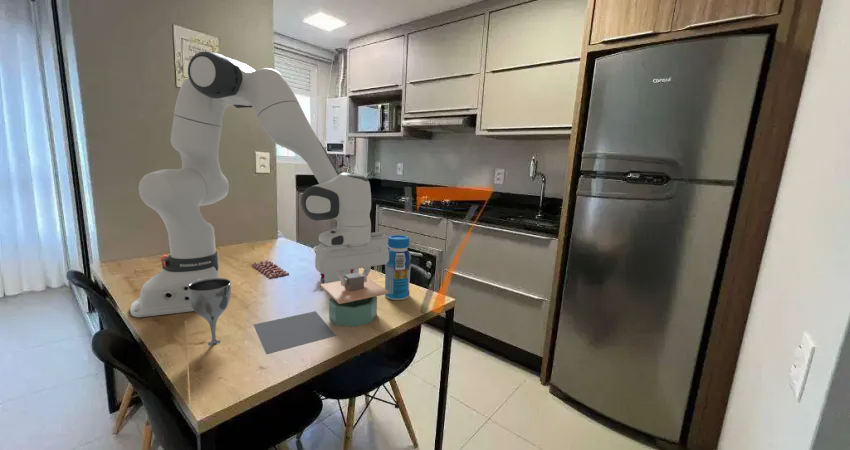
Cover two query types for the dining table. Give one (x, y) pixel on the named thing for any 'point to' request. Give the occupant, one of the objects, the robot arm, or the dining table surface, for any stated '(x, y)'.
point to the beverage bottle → (398, 268)
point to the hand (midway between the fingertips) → (353, 283)
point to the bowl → (353, 312)
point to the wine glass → (210, 301)
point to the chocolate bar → (269, 269)
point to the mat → (292, 331)
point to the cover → (353, 289)
